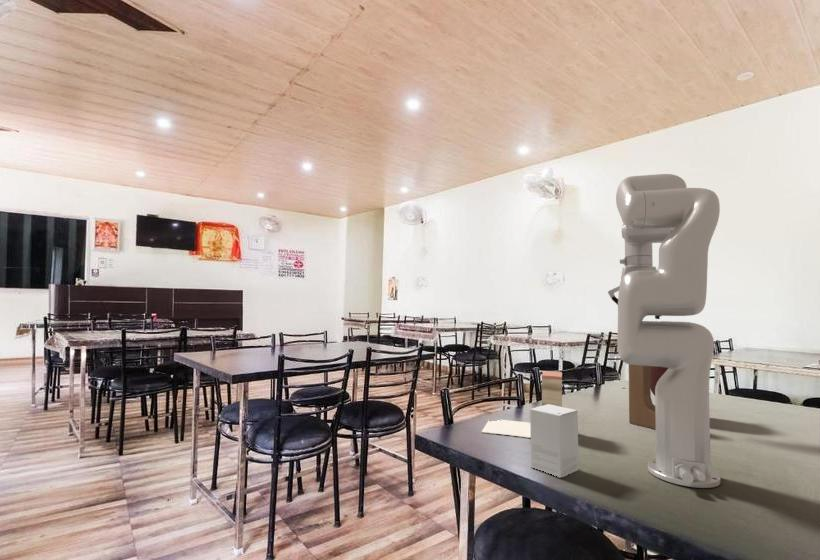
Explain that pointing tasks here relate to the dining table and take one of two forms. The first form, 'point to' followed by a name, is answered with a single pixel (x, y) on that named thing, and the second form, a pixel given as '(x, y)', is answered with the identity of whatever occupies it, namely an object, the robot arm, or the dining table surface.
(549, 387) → the ash block
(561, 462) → the supplement box
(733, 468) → the dining table surface
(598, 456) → the dining table surface
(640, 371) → the wooden block
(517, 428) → the pad
